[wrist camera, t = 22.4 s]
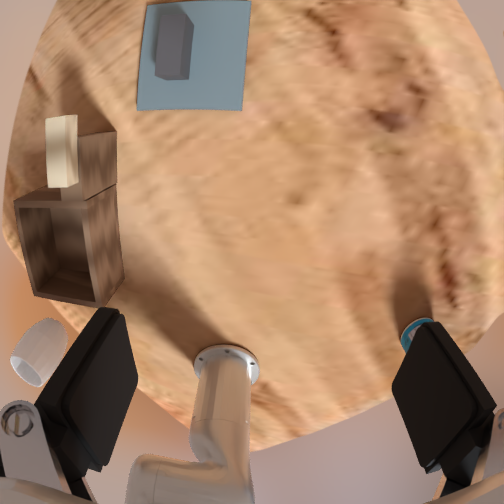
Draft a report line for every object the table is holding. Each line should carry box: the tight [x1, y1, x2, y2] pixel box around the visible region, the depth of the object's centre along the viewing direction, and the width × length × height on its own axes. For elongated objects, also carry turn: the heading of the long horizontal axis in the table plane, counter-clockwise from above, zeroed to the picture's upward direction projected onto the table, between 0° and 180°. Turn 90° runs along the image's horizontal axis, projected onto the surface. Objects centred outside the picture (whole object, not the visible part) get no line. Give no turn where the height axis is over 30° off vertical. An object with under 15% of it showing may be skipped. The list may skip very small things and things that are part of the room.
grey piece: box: [137, 0, 251, 111], centre depth 30 cm, size 16×14×7 cm
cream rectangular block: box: [45, 115, 79, 188], centre depth 27 cm, size 8×3×2 cm, turn 175°
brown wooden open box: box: [14, 131, 125, 308], centre depth 38 cm, size 24×14×10 cm, turn 175°
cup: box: [10, 318, 68, 387], centre depth 40 cm, size 7×7×21 cm
